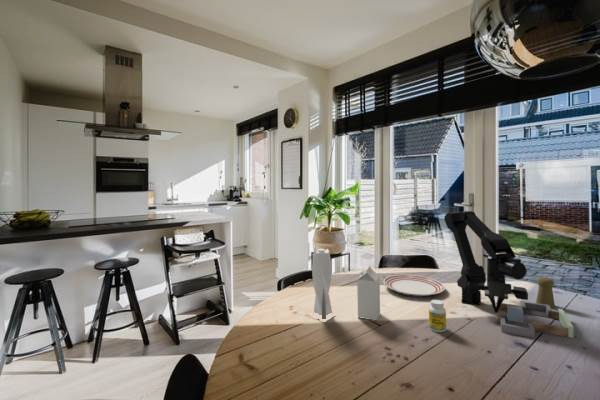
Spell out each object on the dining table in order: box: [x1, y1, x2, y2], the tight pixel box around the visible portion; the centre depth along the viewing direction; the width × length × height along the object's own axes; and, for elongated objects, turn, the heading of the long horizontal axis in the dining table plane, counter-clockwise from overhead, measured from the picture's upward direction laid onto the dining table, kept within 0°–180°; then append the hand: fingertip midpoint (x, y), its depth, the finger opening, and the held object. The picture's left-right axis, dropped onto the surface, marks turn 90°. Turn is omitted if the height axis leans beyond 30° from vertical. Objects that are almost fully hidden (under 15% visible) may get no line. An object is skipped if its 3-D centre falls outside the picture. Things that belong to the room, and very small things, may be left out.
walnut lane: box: [495, 301, 569, 338], centre depth 109 cm, size 19×15×2 cm
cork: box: [535, 277, 556, 309], centre depth 122 cm, size 6×6×11 cm
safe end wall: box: [558, 308, 575, 339], centre depth 103 cm, size 1×15×4 cm, turn 149°
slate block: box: [506, 305, 524, 324], centre depth 111 cm, size 4×4×4 cm
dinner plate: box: [382, 274, 446, 297], centre depth 144 cm, size 28×27×3 cm
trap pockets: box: [500, 300, 554, 339], centre depth 109 cm, size 16×27×2 cm, turn 149°
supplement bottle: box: [428, 299, 447, 333], centre depth 105 cm, size 5×5×10 cm
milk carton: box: [356, 265, 381, 321], centre depth 116 cm, size 7×7×19 cm
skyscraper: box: [311, 244, 333, 319], centre depth 117 cm, size 8×8×28 cm
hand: (496, 312), depth 114 cm, fingers closed
